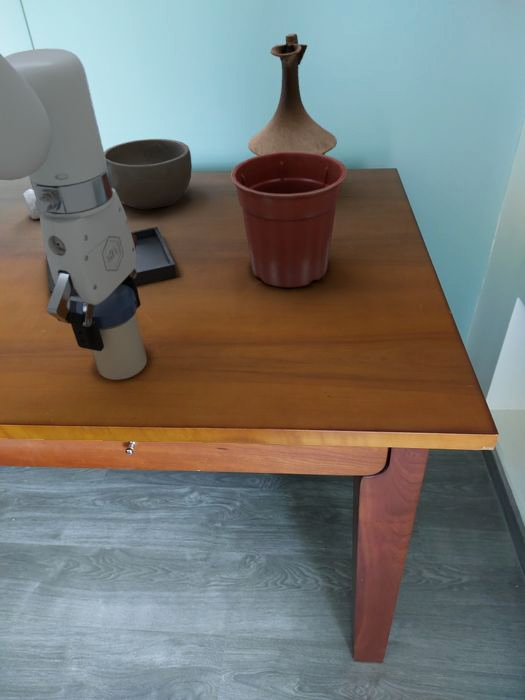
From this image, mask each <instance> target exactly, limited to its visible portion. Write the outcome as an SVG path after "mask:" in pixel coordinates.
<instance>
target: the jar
mask: <svg viewBox="0 0 525 700" xmlns="http://www.w3.org/2000/svg"><path fill="white" fill-rule="evenodd" d="M140 327H141V326H140V323H139V319H138V315H137V312H136V313H135V314H134V315H133V316H132V317H131V318H130V319H129V320H128V321H126V322H124V323H122V324H120V325H117V326H114V327H110V328H102V329H99V331H100V334H101V337H102V341H103V344H104V348H103V350H102V351H96V350H91V349H90V350H91V354H92V356H93V359H94V363H95V367H96V370H97V372H98V373H99V375H100V376H102V377H103V378H105V379H107V380H113V381H114V380H116V381H118V380H126V379H129V378H131V377H134V376H136V375H138V374H139V373H141V372H142V371H143V369H144V368H145V366H146V365H147V361H148V357H147V352H146V348H145V344H144V340H143V336H142V331H141V328H140Z"/></svg>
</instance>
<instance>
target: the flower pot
mask: <svg viewBox="0 0 525 700" xmlns="http://www.w3.org/2000/svg"><path fill="white" fill-rule="evenodd" d="M346 177H347V168H346V166H345V165H344V163H343V162H341V161H340V160H338V159H337V158H335V157H332V156H329V155H327V154H325V155H323V154H319V153H312V152H302V151H284V152H274V153H267V154H263V155H259V156H258V155H256V156H252V157H249V158H246V159H245V160H243V161H241V162H239V163H238V164H236V165H235V166H234V167H233V169H232V170H231V173H230V178H231V182H232V183H233V185H234V186H235V188H236V194H237V199H238V203H239V205H240V207H241V209H242V216H243V222H244V228H245V234H246V240H247V247H248V253H249V257H250V264H251V270H252V273H253V275H254V276H255V278H259V279H260V280H262V282H263V283H264V284H266V285H269V286H272V287H277V288H289V289H291V288H300V287H304V286H308V285H310V284H311V282H313V281H315V280H316V281H319V280H320V279H321V278H322V279H323V277H324V276H325V274H326V273H327V270H328V264H329V258H330V251H331V244H332V236H333V230H334V229H333V228H334V222H335V216H336V209H337V204H338V203H339V201H340V197H341V189H342V184H343V182H344V181H345V179H346Z"/></svg>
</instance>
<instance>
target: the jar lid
mask: <svg viewBox="0 0 525 700" xmlns="http://www.w3.org/2000/svg"><path fill="white" fill-rule="evenodd" d="M83 304H84V303H82V302H77V305H76V313H78V314H82V313H83ZM138 309H139V308H138V307H137V300H136V296H135V294H134V291H133V290H132V289H131V288H130V287H129V286H127V285H124V284H120V285H119V286H118V287H117V288H116V289H115V290H114V291H113V292H112V293H111V294H110V295H109V296H108V297H107V298H106V299H105V300H104V301H103V302H101V303H100V304H97V305H94V308H93V318H92V321H96V322H97V324H98V327H99V329H102V328H110V327H114V326H117V325H120V324H122V323H124V322H126V321H128V320H129V319H130V318H131V317H132V316H133V315H134V314H135V313H136V314H137V310H138Z"/></svg>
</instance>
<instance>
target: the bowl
mask: <svg viewBox="0 0 525 700" xmlns="http://www.w3.org/2000/svg"><path fill="white" fill-rule="evenodd" d="M104 155H105V159H106V164H107V168H108V172H109V177H110V181H111V186H112V188H113V189H115V191H116V193H117V195H118V197H119V199H120V202H121V203H123V204H124V205H126V206H127V207H129V208H133V209H140V210H149V209H158V208H163V207H168V206H170V205H173V204H174V203H177V202H178V201H179V200H180V199H181V198H182V197H183V196H184V194H185V193H186V191H187V189H188V187H189V186H190V182H191V178H192V171H193V170H192V169H193V168H192V167H193V165H192V154H191V149H190V147H189V145H187V144H186V143H184V142H182V141H179V140H175V139H168V138H146V139H136V140H131V141H126V142H122V143H118V144H116V145H113V146H110V147H108V148H107V149H106V150H104Z"/></svg>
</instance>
